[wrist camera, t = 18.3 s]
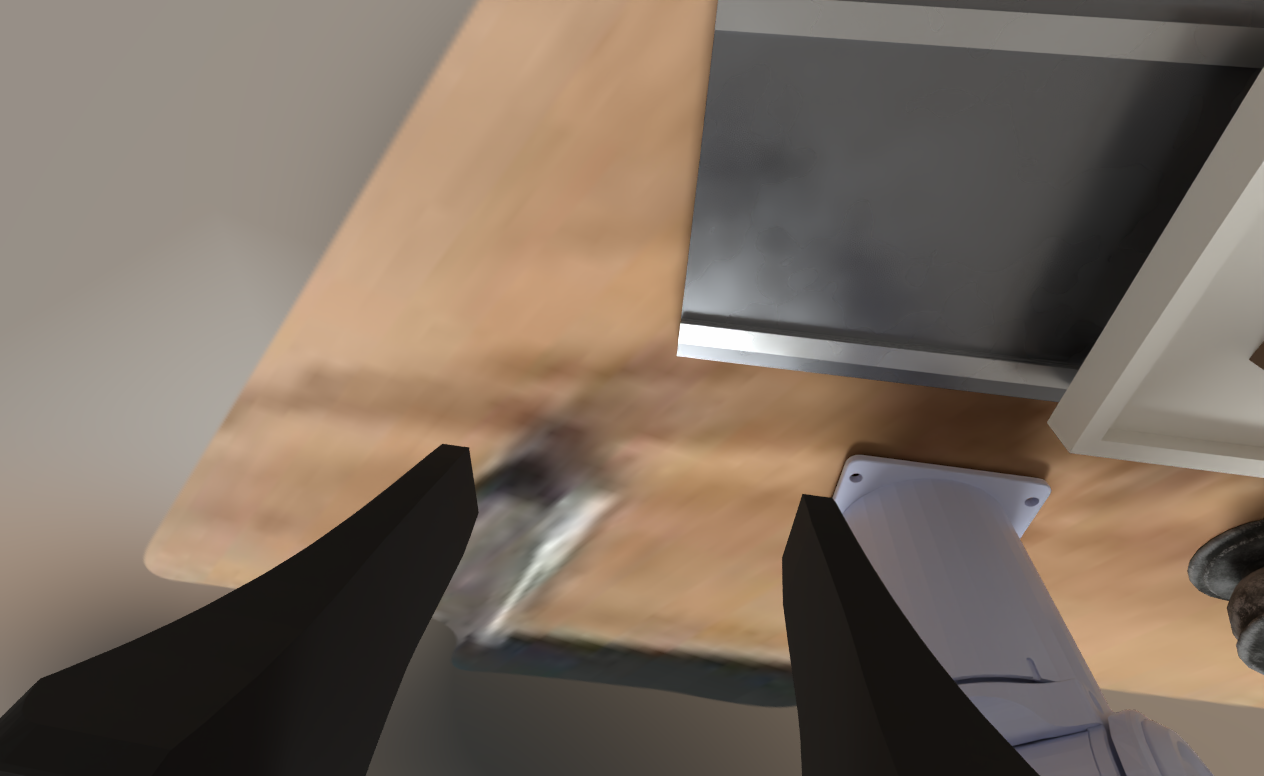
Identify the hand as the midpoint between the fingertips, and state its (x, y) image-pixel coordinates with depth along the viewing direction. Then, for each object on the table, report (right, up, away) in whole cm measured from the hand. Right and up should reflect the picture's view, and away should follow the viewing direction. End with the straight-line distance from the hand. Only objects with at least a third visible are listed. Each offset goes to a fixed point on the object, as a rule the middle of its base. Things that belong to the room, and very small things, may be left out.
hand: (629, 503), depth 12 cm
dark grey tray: (+14, +7, +5) cm, 17 cm away
